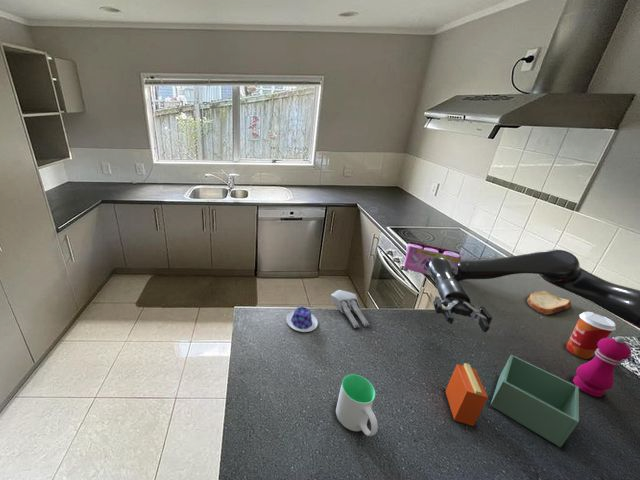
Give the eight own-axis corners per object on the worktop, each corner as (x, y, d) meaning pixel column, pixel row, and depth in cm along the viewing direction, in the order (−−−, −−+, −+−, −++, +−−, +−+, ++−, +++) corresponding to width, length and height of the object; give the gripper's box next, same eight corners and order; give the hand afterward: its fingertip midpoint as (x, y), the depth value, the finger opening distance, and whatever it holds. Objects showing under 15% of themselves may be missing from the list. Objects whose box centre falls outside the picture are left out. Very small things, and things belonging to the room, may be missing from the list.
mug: (384, 441, 69) (394, 413, 65) (358, 452, 67) (366, 423, 63) (354, 397, 80) (360, 370, 76) (330, 405, 77) (335, 378, 73)
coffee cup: (562, 339, 105) (582, 307, 99) (595, 353, 99) (617, 320, 94) (560, 350, 100) (580, 317, 94) (594, 365, 94) (618, 331, 89)
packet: (462, 396, 82) (476, 365, 77) (473, 426, 73) (489, 395, 69) (445, 390, 83) (457, 360, 78) (454, 420, 75) (468, 388, 70)
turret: (348, 333, 106) (351, 325, 104) (326, 295, 123) (329, 287, 120) (372, 330, 108) (375, 321, 106) (347, 293, 125) (350, 285, 122)
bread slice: (535, 313, 119) (539, 305, 118) (514, 290, 135) (517, 283, 134) (589, 323, 114) (594, 316, 113) (560, 298, 130) (564, 291, 129)
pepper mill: (566, 373, 91) (597, 324, 83) (598, 384, 87) (633, 334, 80) (575, 390, 85) (609, 340, 78) (610, 403, 82) (648, 351, 74)
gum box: (400, 268, 150) (406, 245, 145) (401, 262, 156) (407, 240, 151) (453, 282, 139) (461, 258, 134) (451, 275, 146) (460, 252, 141)
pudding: (282, 328, 104) (284, 317, 102) (289, 308, 115) (290, 298, 113) (315, 337, 101) (317, 325, 99) (319, 316, 111) (320, 305, 109)
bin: (562, 410, 79) (578, 386, 75) (560, 447, 70) (578, 422, 66) (499, 377, 88) (511, 354, 85) (490, 405, 79) (502, 381, 76)
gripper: (432, 280, 95) (444, 308, 81) (481, 289, 91) (503, 321, 77) (426, 298, 98) (437, 328, 84) (473, 308, 94) (493, 342, 80)
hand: (468, 325), depth 80 cm, fingers open, 8 cm apart
